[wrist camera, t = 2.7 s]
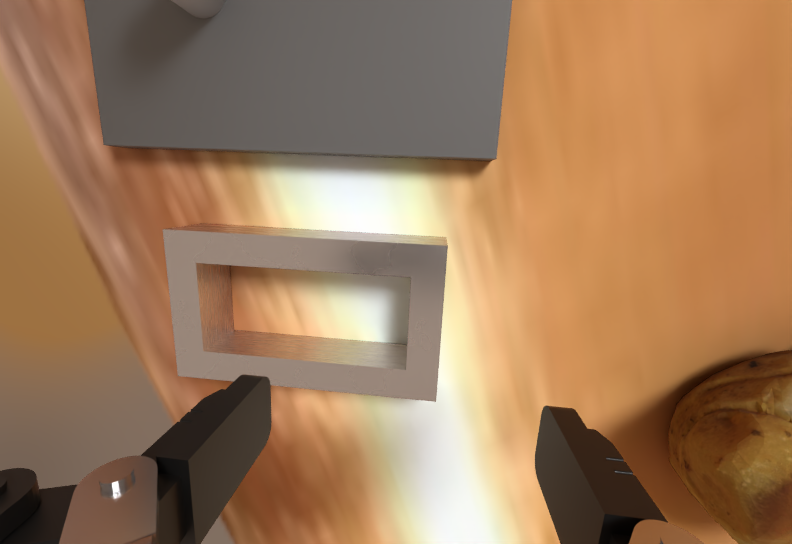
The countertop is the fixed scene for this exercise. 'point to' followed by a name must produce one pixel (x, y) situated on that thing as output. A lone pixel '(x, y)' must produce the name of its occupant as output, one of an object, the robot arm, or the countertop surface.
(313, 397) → the countertop surface
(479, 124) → the board
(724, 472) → the bread roll
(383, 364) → the steel link
